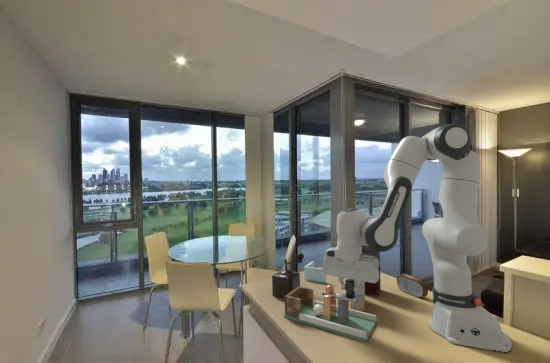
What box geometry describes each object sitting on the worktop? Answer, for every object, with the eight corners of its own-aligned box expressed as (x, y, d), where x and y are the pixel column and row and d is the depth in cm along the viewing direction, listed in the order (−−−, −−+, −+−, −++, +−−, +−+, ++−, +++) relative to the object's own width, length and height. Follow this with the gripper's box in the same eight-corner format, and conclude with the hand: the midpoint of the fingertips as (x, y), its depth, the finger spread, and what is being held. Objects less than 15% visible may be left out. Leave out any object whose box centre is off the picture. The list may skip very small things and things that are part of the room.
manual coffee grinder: (292, 300, 122) (291, 260, 122) (271, 295, 128) (271, 257, 128) (306, 288, 136) (305, 252, 136) (287, 284, 141) (286, 250, 141)
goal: (313, 305, 114) (313, 289, 114) (299, 318, 103) (299, 299, 104) (299, 302, 117) (299, 286, 118) (284, 313, 107) (284, 296, 107)
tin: (428, 299, 120) (428, 280, 120) (424, 301, 118) (423, 281, 118) (400, 288, 133) (399, 271, 133) (395, 289, 132) (395, 272, 132)
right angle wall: (325, 284, 142) (325, 269, 142) (304, 280, 148) (304, 266, 148) (332, 276, 152) (331, 263, 153) (312, 274, 158) (312, 261, 158)
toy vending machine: (357, 285, 137) (355, 231, 137) (380, 289, 132) (379, 232, 132) (353, 292, 129) (352, 234, 129) (378, 296, 124) (376, 235, 124)
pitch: (376, 323, 100) (375, 295, 100) (366, 342, 89) (365, 310, 89) (300, 303, 118) (300, 280, 118) (283, 317, 106) (283, 290, 107)
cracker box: (366, 312, 109) (364, 260, 109) (350, 311, 110) (349, 260, 110) (362, 298, 123) (360, 252, 123) (348, 297, 124) (347, 251, 124)
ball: (325, 314, 106) (325, 303, 106) (321, 318, 103) (321, 307, 103) (316, 311, 108) (315, 301, 109) (311, 315, 105) (311, 305, 105)
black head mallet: (358, 320, 100) (357, 279, 100) (353, 327, 95) (352, 284, 95) (326, 311, 107) (325, 273, 107) (319, 318, 102) (319, 277, 102)
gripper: (380, 254, 96) (381, 293, 95) (327, 247, 107) (327, 282, 107) (376, 258, 90) (377, 299, 90) (320, 251, 102) (321, 287, 102)
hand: (350, 290), depth 99 cm, fingers closed on black head mallet, 3 cm apart
